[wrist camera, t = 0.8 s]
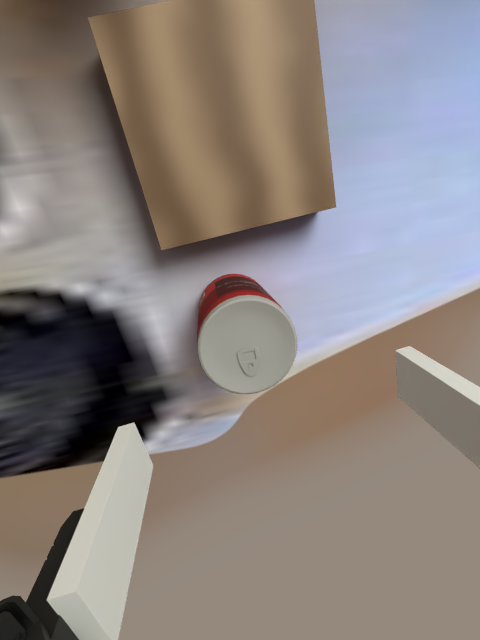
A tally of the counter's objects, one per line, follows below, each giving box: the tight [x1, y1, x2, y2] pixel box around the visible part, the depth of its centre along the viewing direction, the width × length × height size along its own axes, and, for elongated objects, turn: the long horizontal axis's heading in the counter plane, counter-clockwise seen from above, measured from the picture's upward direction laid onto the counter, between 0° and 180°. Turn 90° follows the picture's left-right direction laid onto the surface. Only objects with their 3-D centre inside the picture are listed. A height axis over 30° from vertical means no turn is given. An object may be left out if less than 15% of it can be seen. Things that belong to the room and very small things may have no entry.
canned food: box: [197, 274, 297, 394], centre depth 26 cm, size 8×8×11 cm
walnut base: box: [88, 0, 336, 250], centre depth 25 cm, size 16×16×4 cm
